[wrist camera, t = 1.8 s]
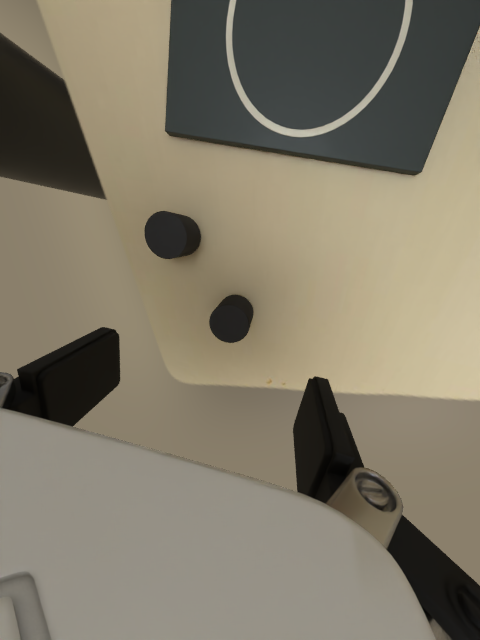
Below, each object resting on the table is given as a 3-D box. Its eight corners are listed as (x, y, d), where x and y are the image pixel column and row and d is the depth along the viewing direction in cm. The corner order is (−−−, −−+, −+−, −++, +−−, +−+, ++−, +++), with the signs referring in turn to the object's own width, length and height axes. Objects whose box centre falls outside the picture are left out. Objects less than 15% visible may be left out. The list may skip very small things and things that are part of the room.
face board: (169, 135, 21) (163, 130, 20) (184, -125, 16) (176, -152, 15) (414, 175, 20) (423, 171, 18) (523, -102, 14) (544, -130, 13)
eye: (216, 324, 27) (206, 338, 23) (221, 291, 26) (212, 300, 22) (249, 331, 27) (245, 346, 23) (256, 299, 25) (253, 309, 22)
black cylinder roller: (163, 251, 25) (143, 254, 21) (165, 211, 24) (144, 207, 20) (198, 258, 25) (184, 262, 21) (202, 219, 23) (189, 215, 20)
